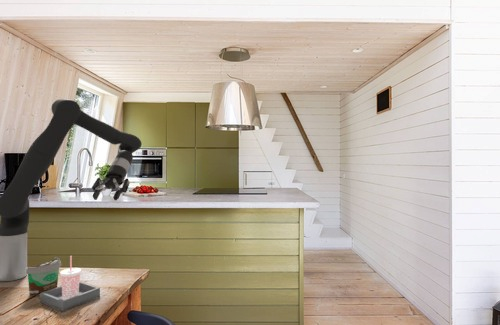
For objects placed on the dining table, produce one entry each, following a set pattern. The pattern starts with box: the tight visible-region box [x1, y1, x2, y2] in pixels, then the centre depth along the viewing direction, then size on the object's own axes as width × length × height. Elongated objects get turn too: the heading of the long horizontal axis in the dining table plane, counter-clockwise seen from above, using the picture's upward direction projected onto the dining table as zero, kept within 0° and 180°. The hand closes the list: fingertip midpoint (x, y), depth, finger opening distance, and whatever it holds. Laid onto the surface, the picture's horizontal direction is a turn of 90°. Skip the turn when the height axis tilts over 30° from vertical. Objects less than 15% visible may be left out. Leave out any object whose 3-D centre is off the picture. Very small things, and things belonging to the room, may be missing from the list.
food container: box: [26, 256, 62, 297], centre depth 112 cm, size 12×6×10 cm, turn 168°
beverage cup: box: [59, 255, 82, 300], centre depth 105 cm, size 6×6×14 cm
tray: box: [39, 280, 101, 312], centre depth 105 cm, size 13×13×3 cm
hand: (104, 199), depth 129 cm, fingers open, 8 cm apart
